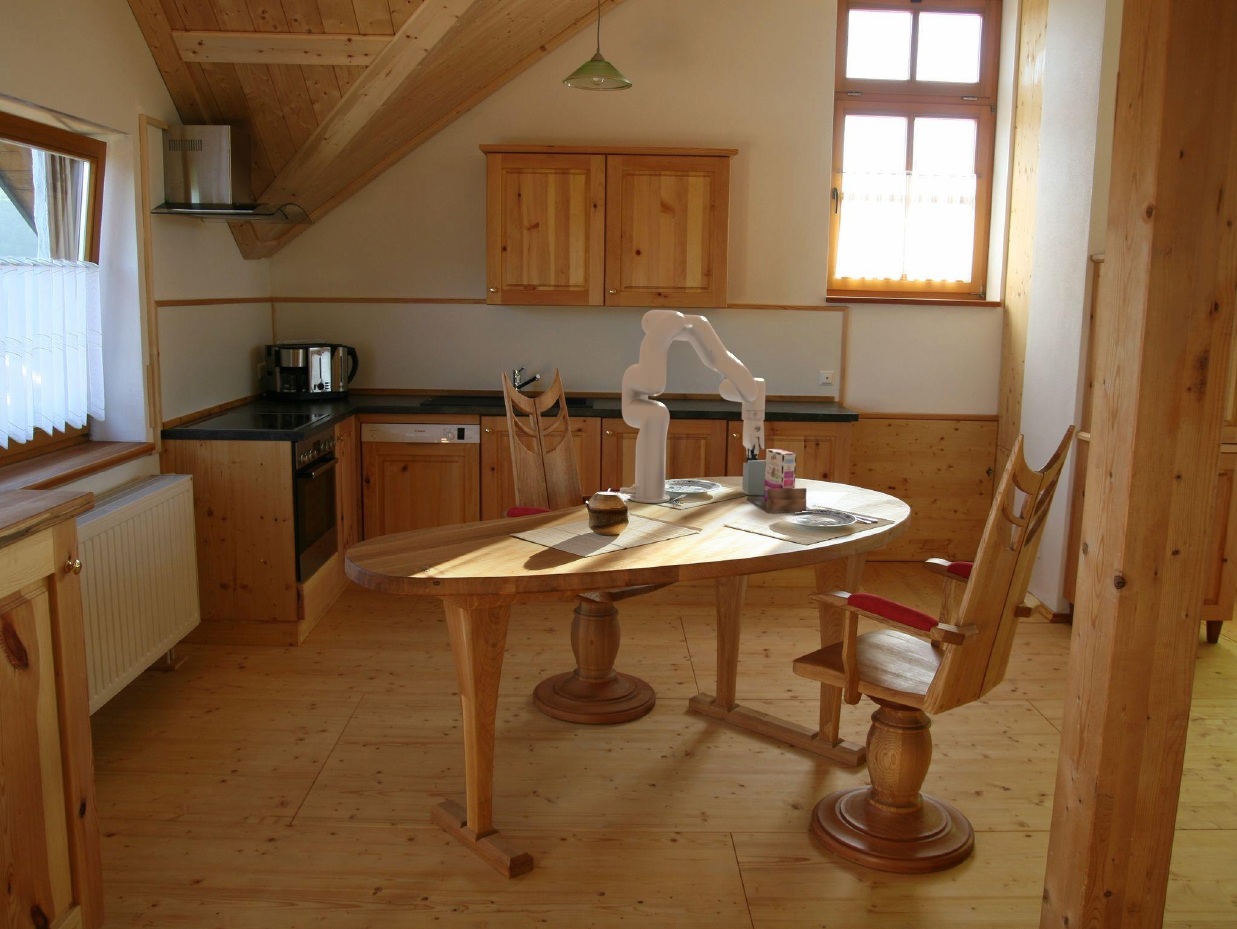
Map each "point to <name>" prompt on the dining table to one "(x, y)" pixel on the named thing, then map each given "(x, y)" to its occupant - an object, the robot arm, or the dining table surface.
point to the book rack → (782, 501)
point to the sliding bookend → (754, 477)
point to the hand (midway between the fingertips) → (751, 469)
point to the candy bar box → (779, 469)
